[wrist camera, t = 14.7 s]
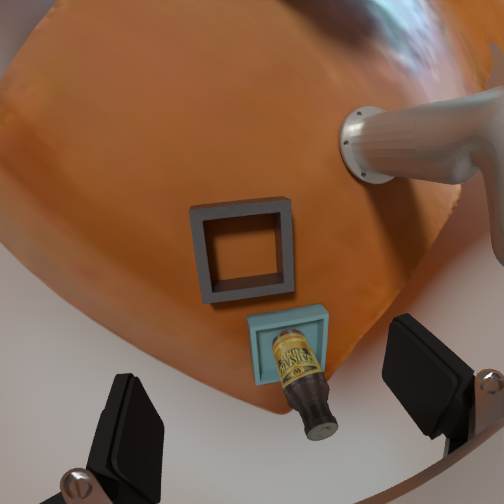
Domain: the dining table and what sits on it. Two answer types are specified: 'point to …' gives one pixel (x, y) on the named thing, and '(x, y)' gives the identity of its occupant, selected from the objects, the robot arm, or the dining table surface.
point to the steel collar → (252, 284)
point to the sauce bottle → (304, 383)
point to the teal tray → (272, 323)
